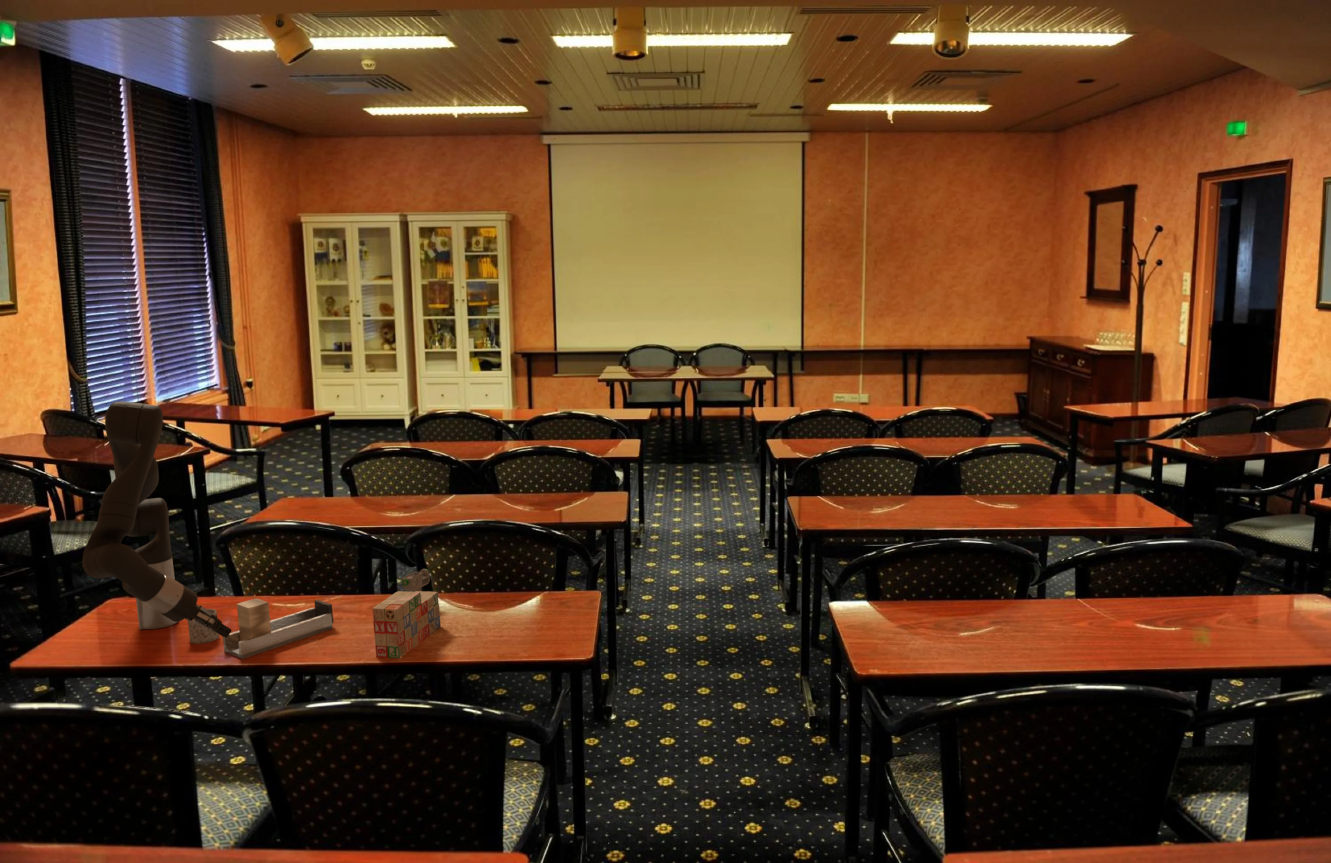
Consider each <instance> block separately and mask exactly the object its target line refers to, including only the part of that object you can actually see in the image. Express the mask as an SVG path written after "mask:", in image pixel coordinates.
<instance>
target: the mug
mask: <svg viewBox="0 0 1331 863" xmlns="http://www.w3.org/2000/svg"><path fill="white" fill-rule="evenodd" d="M206 609H207V611H208V612H210V613H212V614H213V615H215V617H217V618H218V614H217V613H218V611H217V610H216V609H214V608H206ZM187 626H188V627H187V628H188V636H189V642H190V643H191V644H196V645H198V644H199V645H201V644H202V645H203V644H208V643H212V642H214V641H217V640H218V639H219V638H220V635H219V634H218V633H216V632H214V631H211V630H210V629H207V628H203V627H201V626H198V625H197V624H195V623H193V622H190V621H188V620H187Z"/></svg>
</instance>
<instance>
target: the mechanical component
mask: <svg viewBox="0 0 1331 863" xmlns="http://www.w3.org/2000/svg"><path fill="white" fill-rule="evenodd" d="M429 570H430V569H428V568H422V569H421V570H419V571H413V572H411V573H409V574H407V575H405V576H403V577H402V578H401V583H402V589H403V591H404V592H415V591H422V588H424V586H427V585H428V584H429V583H430V579H431V578H430V571H429Z"/></svg>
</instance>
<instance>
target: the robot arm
mask: <svg viewBox="0 0 1331 863" xmlns="http://www.w3.org/2000/svg"><path fill="white" fill-rule="evenodd" d="M104 416H105V417H104V428H105V434H106V438H107V442H108V443H109V447H110V450H111V453H112V458H113V470H114V479H113V481H111V483H110V484H109V485H108V487H107V488H106V490H105V491H104V493H103V496H102V499H101V503H100V508H99V511H98V512H99V513H98V518H97V523H96V525H95V527H94V529H93V531H92V532H91V535H90V537H89V539H88V541H87V543H86V545H85V548H84V551H83V554H82V568H83V571H84V572H85V573H86V574H87V575H88V576H89V577H91V578H94V579H104V578H110V577H114V578H116V579H118V580H119V581H121V583H122V584H121V586H122V589H123V590H124V591H125V592H126V593H128V594H129V595H131V596H132V597H134V598H135V603H136V604H135V605H136V611H137V613H136V614H137V618H138V619H137V620H138V628H139V630H156V629H162V628H166V627H170V626H173V625H175V624H177V623H178V622H181V621H183V620H186V621H187V622H188V621H190V622H193V623H195V624H197V625H198V626H201V627H203V628H207V629H210V630H211V631H214V632H216V633H218V634H219V636H221V637H222V638H223V637H225V638H226V637H228V636H229V634H230V633H232V629H231V628H230V627H228V626H227V625H225V624H224V623H223V622H224V621H223V622H222V620H220V619H219V617H218V616H217V617H215V615H213V614H212V613H210V612H208V611H207V609H208V608H206V607H204V606H203V605H199V604H198V599H199V598H198V594H197V593H196V592H194V591H193V590H192V589H190V588H188V587H187V586H185V585H183V584H182V583H180V582H179V581H177V580H175V569H174V564H173V562H174V561H173V554H172V547H171V537H170V521H169V508H168V506H167V505H168V504H167V502H166V501H165V499H164V498H162V497H154V498H148V497H150V496H151V495H152V494H153V492H154V491H155V490H156V488H157V487H158V484H159V480H160V476H159V475H160V474H159V466H158V462H157V459H156V457H155V456H154V455H155V453H156V450H157V447H158V445H159V441H160V438H161V435H162V432H163V431H162V430H163V425H164V424H163V423H164V415H163V411H162V408H161V407H160V406H159V405H155V404H148V403H141V402H133V401H132V402H131V401H114V402H112V403H111V404H110V405H109V406H108V407H107V410H106V412H105V415H104ZM151 535H152V536H153V535H155V537H154V538H153V539H152V540H151V541H149V542H148V543H146V544H144V545H142V546H140V547H138V548H136V549H134V548H132V547H130V546H129V545H126V544H124V543H122V540H123V539H124V537H126V536H128V537H135V538H136V537H137V538H138V537H144V536H151Z"/></svg>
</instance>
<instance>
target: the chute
mask: <svg viewBox="0 0 1331 863" xmlns="http://www.w3.org/2000/svg"><path fill="white" fill-rule="evenodd" d="M313 602H314V607H310V608H308V609H307V608H306V609H304V610H303V609H302V610H300V611H298V612H294V613H291V614H290V613H289V614H287V615H284V616H282V617H278V618H275V619H270V625H271V632H268V633H265V634H262V635H259V636H256V637H253V638H250V639H246V640H243V641H240V632H239V630H236V631H233V632H231V633H230V634H229V636H228V637H226V638H225V637H223V636H222V643H223V644H222V645H223V652H225V653H227V654H229V655H232V656H234V657H236V658H238V659H240V660H244V659H246V658H251V657H252V656H253V657H254V656H256V655H259V654H262V653H265V652H267V651H271V650H274V649H277V648H279V647H282V646H286V645H289V644H292V643H294V642H298V641H300V640H303V639H307V638H310V637H313V636H316V635H318V634H321V633H323V632H327V631H330V630H333V624H334V615H333V604H332V603H329V602H326V601H323V600H320V599H316V600H314V601H313Z"/></svg>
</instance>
